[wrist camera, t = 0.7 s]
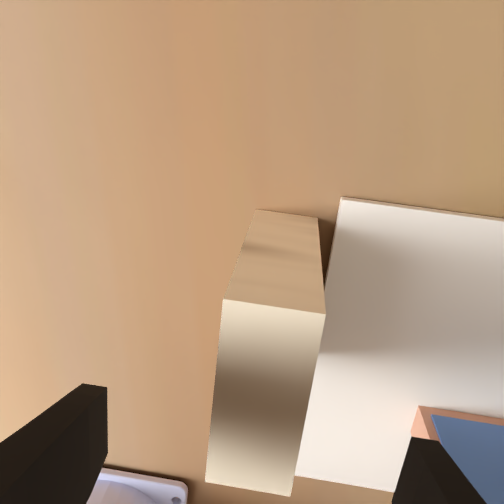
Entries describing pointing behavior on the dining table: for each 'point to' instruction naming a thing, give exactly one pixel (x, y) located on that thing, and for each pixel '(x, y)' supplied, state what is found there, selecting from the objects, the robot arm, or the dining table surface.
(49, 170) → the dining table surface
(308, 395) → the tall beige block
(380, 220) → the mat
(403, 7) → the dining table surface
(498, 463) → the tile
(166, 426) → the dining table surface
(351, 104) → the dining table surface
